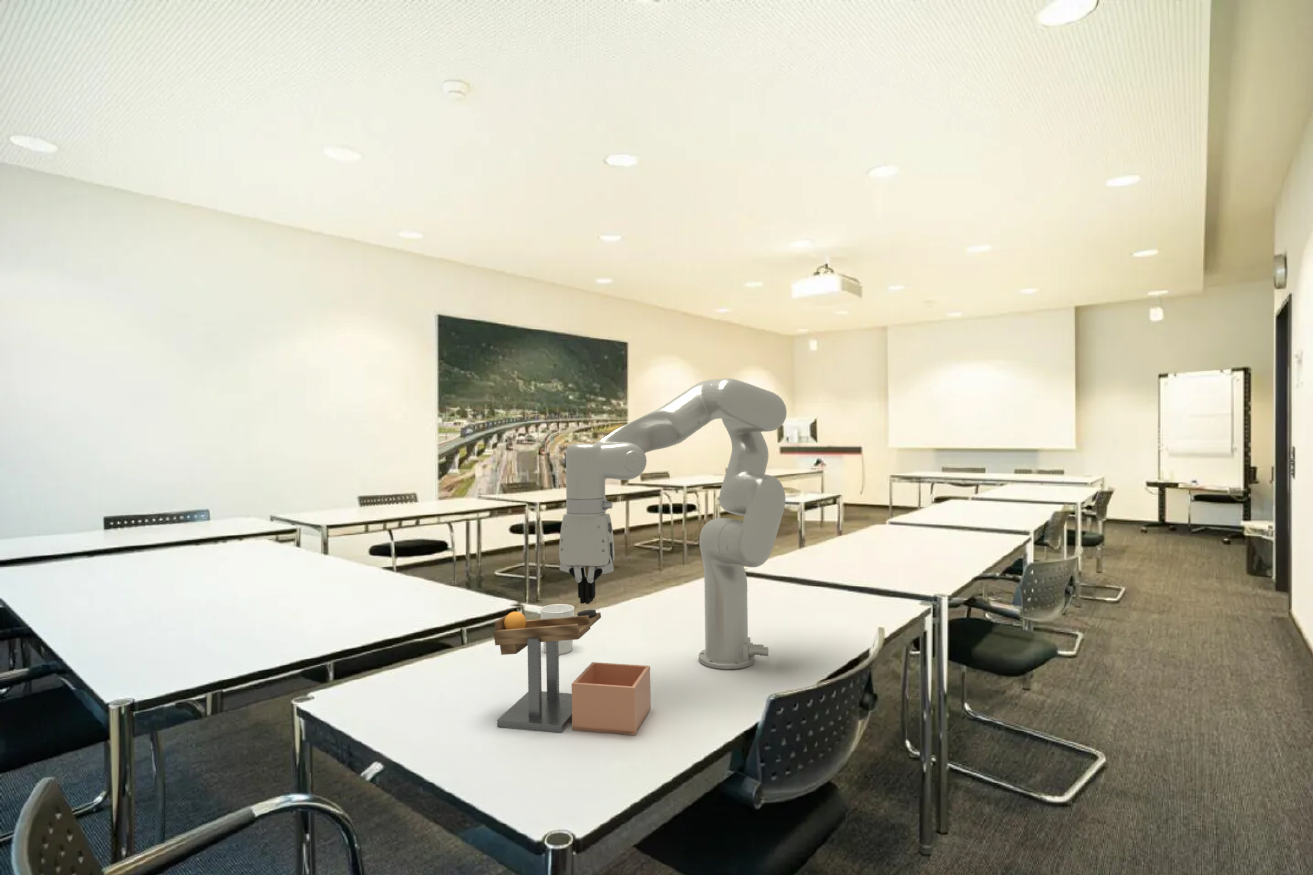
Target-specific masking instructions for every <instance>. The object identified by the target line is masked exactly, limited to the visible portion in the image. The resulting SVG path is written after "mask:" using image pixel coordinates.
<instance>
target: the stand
mask: <svg viewBox="0 0 1313 875" xmlns="http://www.w3.org/2000/svg"><path fill="white" fill-rule="evenodd" d="M527 644H528V646H527V683H528V684H527V686H528V688H527V690H528V691H527V692H526V693H525V694H524V695H523V696H522V697H521V698H520V699H518V700H517V701H516V702H515V703H514V704H513V705H512V706H511V707H510V708H508V709H507V710H506V711H505V712H504V713H503V714H502V715H501V716H500V717H498V718H497V720H496V727H497V726H499V727H498V728H504V727H509V728H508V729H515V728H518V729H517V730H527V729H529V730H530V731H539V732H550V733H563V732H564V731H565V730H566V729H567V727H568V726H569V725H570V723H571V722H572V693H570V692H569V693H568V692H560V668H559V667H560V665H559V662H560V661H559V660H560V656H559V655H560V654H559V648H558V641H549V642H546V653H545V654H546V655H545V660H546V662H545V663H546V664H545V665H546V670H545V671H546V691H542V685H543V684H542V642H541V638H538V637H530V638H528V643H527ZM568 724H569V725H568ZM500 726H501V727H500ZM563 730H564V731H563Z"/></svg>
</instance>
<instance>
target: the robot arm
mask: <svg viewBox="0 0 1313 875" xmlns="http://www.w3.org/2000/svg"><path fill="white" fill-rule="evenodd" d="M787 411H788V410H787V406H786V403H785V402H784V400H783V399H782V397H780V396H779V395H778V394H776V393H774V392H773V391H770V390H767V389H765V388H761V387H759V386H755V385H753V384H751V383H748V382H744V381H742V380H738V379H735V378H720V379H719V378H718V379H710V380H709V379H708V380H703V381H700V382H698V383H696V384H695V385H692V386H691V387H690V388H688V389H687V390H685V391H683V392H682V393H681V394H678V395H677V396H676V397H674V398H673V399H671V400H670V401H669V402H667V403H665V404H664V405H662V406H661V407H660V408H658V409H655V410H654V411H651V412H649V413H647V414H644V415H643V416H641V417H639V418H637V419H635V420H632V421H630V422H628V423H626V424H624V425H622V426H621V427H618V428H616V429H615V430H613V431H612V432H610V433H608V434H607V435H606V436H604V437H603V438H601V439H600V440H598V441H597V442H596V443H572V444H570V445H568V446H567V448H566V450H565V476H566V477H565V478H566V479H565V485H566V486H565V487H566V488H565V490H566V491H565V492H566V495H565V496H566V501H565V502H566V513H564V514H563V515H562V521H561V525H560V534H559V543H558V544H559V547H558V556H559V562H560V564H559V570H560V571H561V572H565V573H569V574H570V575H571V576H572V577H573V578H574V579H575V581H576V583H577V597H578V599H579V602H580V604H586V605H589V604H590V603H592V602H593V601H594V599H595V598H596V581H597V580H598V579H599V578H600V576H601V575H605V574H609V573H612V572H613V571H614V568H615V566H614V563H613V562H614V561H615V556H616V555H615V554H616V553H615V541H614V540H615V539H614V532H613V531H614V530H613V529H614V528H613V523H612V519H611V518H612V517H611V514H610V513H606V511H607V510H611V509H613V506H614V505H613V501H609V500H607V497H606V480H609V479H610V480H611V479H612V480H617V481H618V480H619V481H629V480H633V479H637V478H638V477H639V476H641V475H642V474H643V472H644V471H645V469H646V466H647V461H648V460H647V455H646V453H649V452H652V451H657V450H661V449H662V450H663V449H665V448H670V447H673V446H676V445H678V444H680V443H681V444H682V443H683V442H684V441H685V440H687V439H688V438H689V437H691V436H692V435H693V434H695V433H696V432H697V431H699V430H700V429H702V428H703V427H705V426H706V425H708V424H710V423H711V422H712V421H714V420H718V419H721V421H722V423H723V426H724V428H726V431H727V433H728V435H729V438H730V442H731V454H730V458H729V462H728V465H727V468H726V471H725V475H724V478H723V480H722V484H721V488H720V491H719V496H718V500H719V505H720V507H721V508H722V509H723V510H724V511H725V512H727V513H728V514H732V515H735V516H736V515H737V516H741V517H742V516H743V520H740V519H735V518H734V519H733V518H727V517H719V518H718V517H717V518H713V519H711V520H709V521H707V522H706V523H705V524H704V525H703V527H702V529H701V530H700V533H699V542H698V543H699V550H700V554H701V559H702V565H703V574H704V576H703V582H704V635H705V636H704V640H705V642H704V644H705V645H704V647H705V649H702V650H701V651H700V652H699V653H698V661H699V662H700V663H701V664H702V665H703V666H706V667H709V668H713V669H720V670H721V669H722V670H735V669H736V670H737V669H743V668H747V667H750V666H751V665H753V664H755V662H756V656H760V657H769V647H768V646H764V644H755V643H753V642H751V639H752V638H751V637H749V627H748V626H749V624H748V623H749V622H748V616H749V615H748V614H749V613H748V610H749V608H748V577H747V574H746V570H745V567H747V568H758V567H760V566H761V567H762V565H764V564H765V563H766V562H767V561H768V559H769V558H770V556H771V554H772V553H773V549H774V546H775V542H776V539H777V535H778V532H779V528H780V525H781V521H782V518H783V514H784V511H785V507H786V492H785V488H784V486H783V484H782V482H781V481H780V480H779V479H778V478H777V477H775V476H773V475H770V474H766V472H767V467H768V466H767V465H768V463H769V447H768V444H767V443H766V440H765V437H764V435H763V433H764V432H773V431H776V430H778V429H779V428H781V427H782V426H783V425H784V423H785V422H786V418H787V413H788V412H787ZM762 432H763V433H762ZM586 568H588V571H587V572H588V573H587V574H586Z"/></svg>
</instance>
